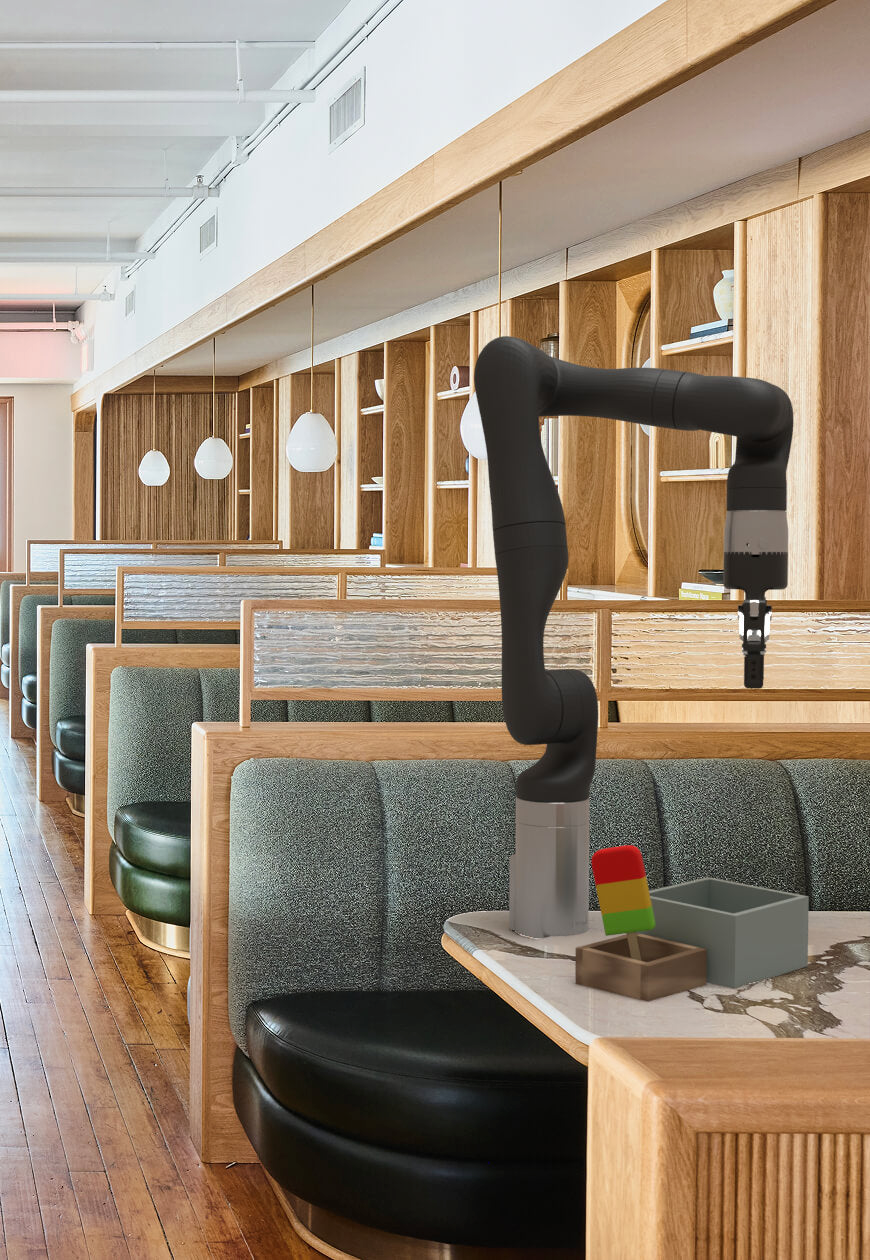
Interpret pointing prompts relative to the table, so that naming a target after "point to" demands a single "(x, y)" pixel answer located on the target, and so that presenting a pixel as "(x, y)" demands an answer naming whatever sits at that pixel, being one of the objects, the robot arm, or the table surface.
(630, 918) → the popsicle
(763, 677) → the robot arm
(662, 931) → the bin
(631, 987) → the collar
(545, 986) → the table surface
